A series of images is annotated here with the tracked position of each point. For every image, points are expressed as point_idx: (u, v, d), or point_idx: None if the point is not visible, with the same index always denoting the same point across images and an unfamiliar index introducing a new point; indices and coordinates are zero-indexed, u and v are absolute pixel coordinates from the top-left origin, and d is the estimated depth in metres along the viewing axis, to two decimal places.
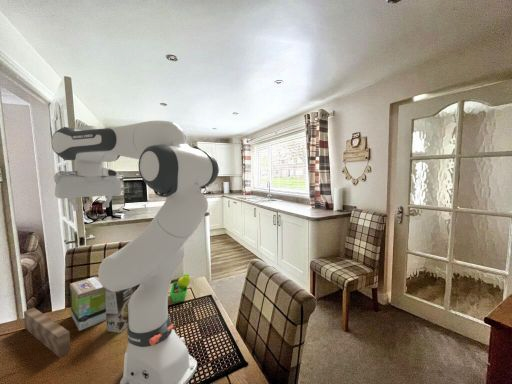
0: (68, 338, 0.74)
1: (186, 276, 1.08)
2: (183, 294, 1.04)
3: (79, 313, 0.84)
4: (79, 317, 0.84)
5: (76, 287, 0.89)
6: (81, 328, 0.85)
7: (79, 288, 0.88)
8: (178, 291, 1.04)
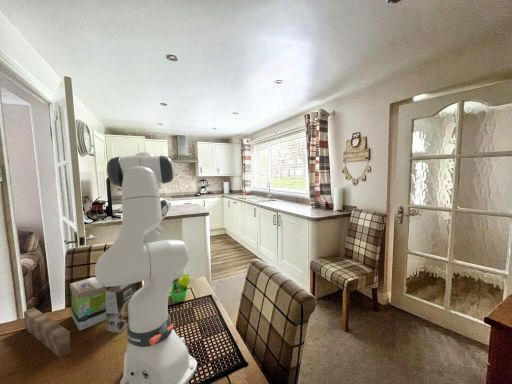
0: (68, 338, 0.74)
1: (186, 276, 1.08)
2: (183, 294, 1.04)
3: (79, 313, 0.84)
4: (79, 317, 0.84)
5: (76, 287, 0.89)
6: (81, 328, 0.85)
7: (79, 288, 0.88)
8: (178, 291, 1.04)
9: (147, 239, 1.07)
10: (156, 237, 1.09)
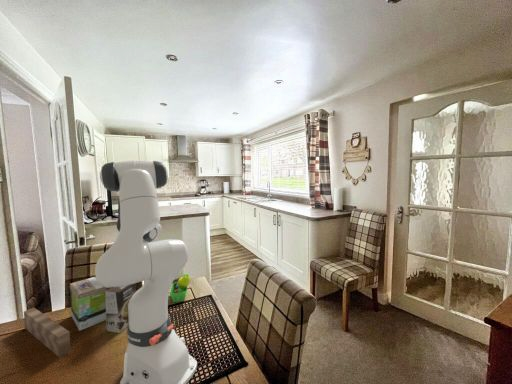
0: (68, 338, 0.74)
1: (186, 276, 1.08)
2: (183, 294, 1.04)
3: (79, 313, 0.84)
4: (79, 317, 0.84)
5: (76, 287, 0.89)
6: (81, 328, 0.85)
7: (79, 288, 0.88)
8: (178, 291, 1.04)
9: None
10: None
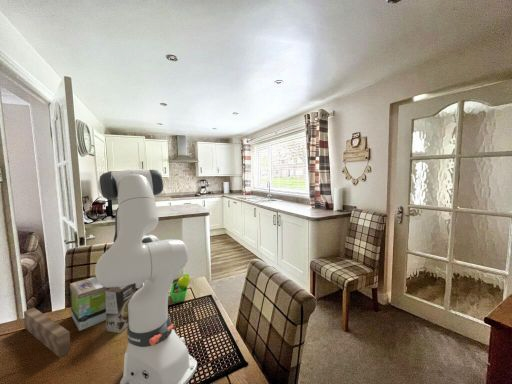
0: (68, 338, 0.74)
1: (186, 276, 1.08)
2: (183, 294, 1.04)
3: (79, 313, 0.84)
4: (79, 317, 0.84)
5: (76, 287, 0.89)
6: (81, 328, 0.85)
7: (79, 288, 0.88)
8: (178, 291, 1.04)
9: None
10: (142, 280, 1.03)
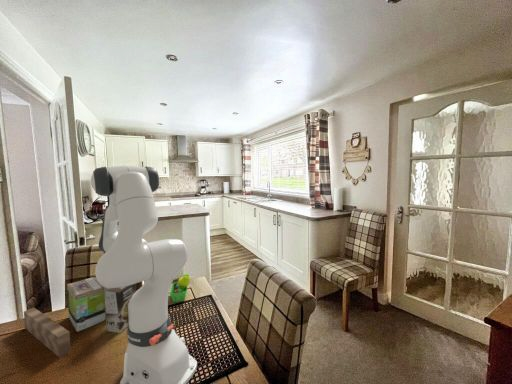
0: (68, 338, 0.74)
1: (186, 276, 1.08)
2: (183, 294, 1.04)
3: (77, 314, 0.83)
4: (77, 318, 0.83)
5: (73, 288, 0.89)
6: (79, 329, 0.84)
7: (76, 289, 0.88)
8: (178, 291, 1.04)
9: None
10: None
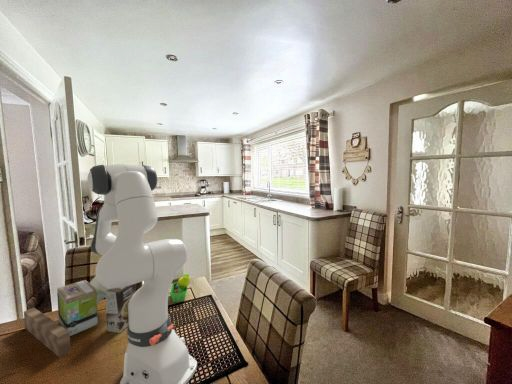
0: (68, 338, 0.74)
1: (186, 276, 1.08)
2: (183, 294, 1.04)
3: (67, 318, 0.81)
4: (67, 323, 0.81)
5: (64, 291, 0.86)
6: (70, 334, 0.81)
7: (67, 292, 0.85)
8: (178, 291, 1.04)
9: None
10: None
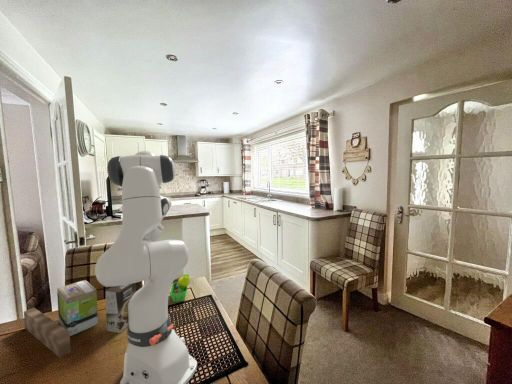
0: (68, 338, 0.74)
1: (186, 276, 1.08)
2: (183, 294, 1.04)
3: (67, 318, 0.81)
4: (67, 323, 0.81)
5: (64, 291, 0.86)
6: (70, 334, 0.81)
7: (67, 292, 0.85)
8: (178, 291, 1.04)
9: (148, 237, 1.07)
10: (157, 235, 1.10)
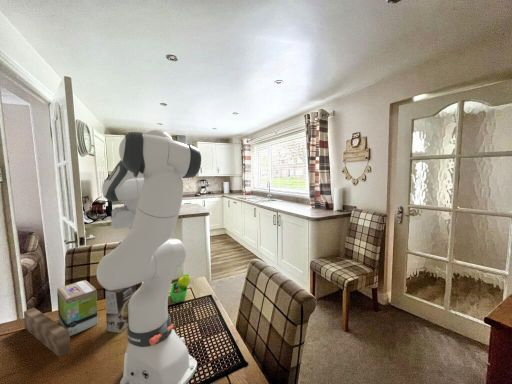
0: (68, 338, 0.74)
1: (186, 276, 1.08)
2: (183, 294, 1.04)
3: (67, 318, 0.81)
4: (67, 323, 0.81)
5: (64, 291, 0.86)
6: (70, 334, 0.81)
7: (67, 292, 0.85)
8: (178, 291, 1.04)
9: None
10: None
